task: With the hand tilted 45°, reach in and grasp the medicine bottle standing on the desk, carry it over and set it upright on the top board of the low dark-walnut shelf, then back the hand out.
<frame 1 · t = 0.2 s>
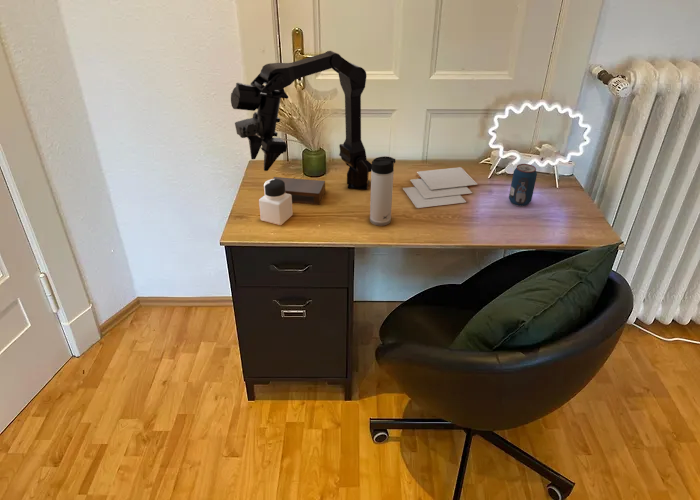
hand: (259, 164, 157), 15 cm above the table, tool pointing down, fingers open, 9 cm apart
soda can: (519, 202, 172), on the table
paper stack: (440, 187, 180), on the table
travel mug: (380, 221, 161), on the table
shelf: (296, 196, 174), on the table
medicine bottle: (276, 218, 163), on the table
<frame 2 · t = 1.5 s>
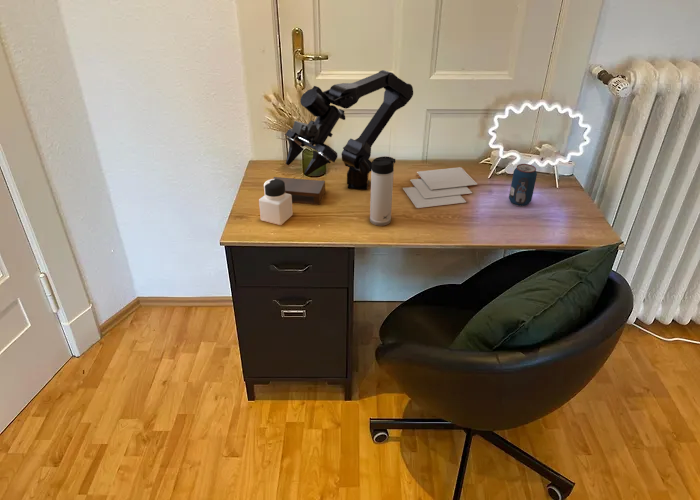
hand: (296, 169, 160), 13 cm above the table, tool tilted 45°, fingers open, 9 cm apart
nothing on the table moved.
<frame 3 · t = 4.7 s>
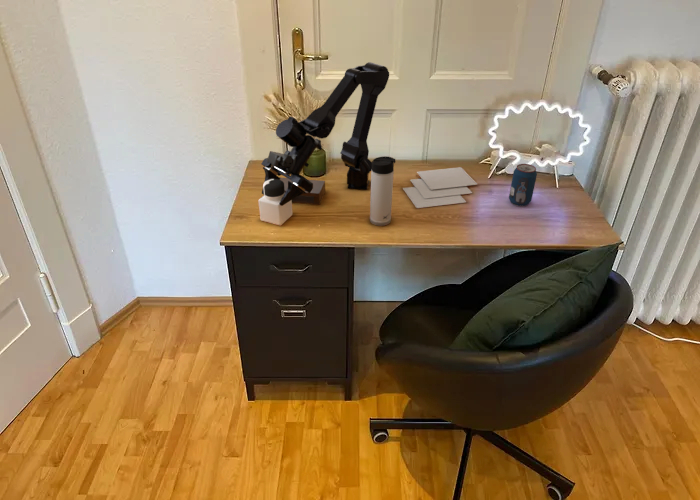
hand: (271, 199, 158), 7 cm above the table, tool tilted 45°, fingers closed on medicine bottle, 8 cm apart
medicine bottle: (276, 218, 162), on the table, touching gripper
everything else where it was.
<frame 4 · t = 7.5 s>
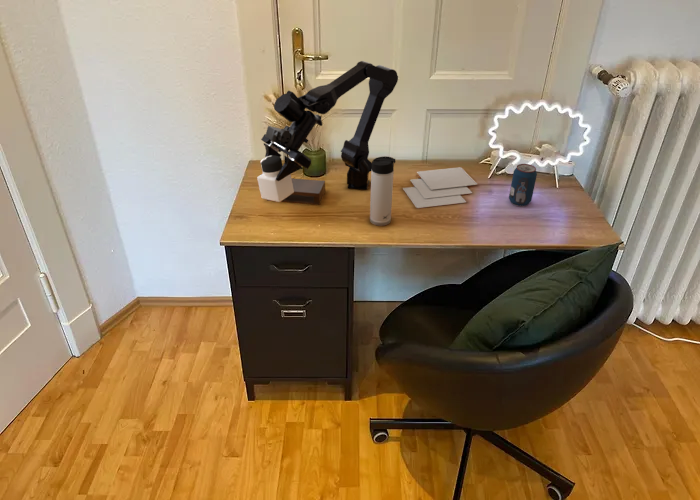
hand: (269, 175, 156), 13 cm above the table, tool tilted 45°, fingers closed on medicine bottle, 7 cm apart
medicine bottle: (278, 196, 161), point 6 cm above the table, touching gripper
everything else where it was.
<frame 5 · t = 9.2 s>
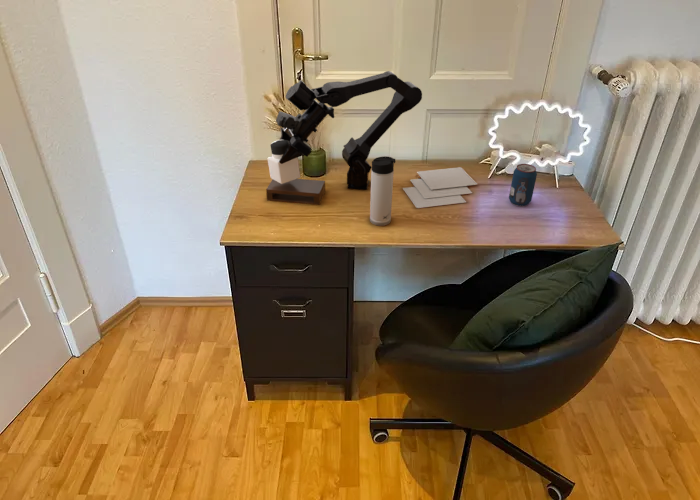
hand: (277, 157, 167), 13 cm above the table, tool tilted 45°, fingers closed on medicine bottle, 7 cm apart
medicine bottle: (285, 178, 171), point 6 cm above the table, touching gripper
everything else where it was.
when the fingers open (12 cm above the table, at t = 10.6 s): medicine bottle stays where it is, resting on shelf.
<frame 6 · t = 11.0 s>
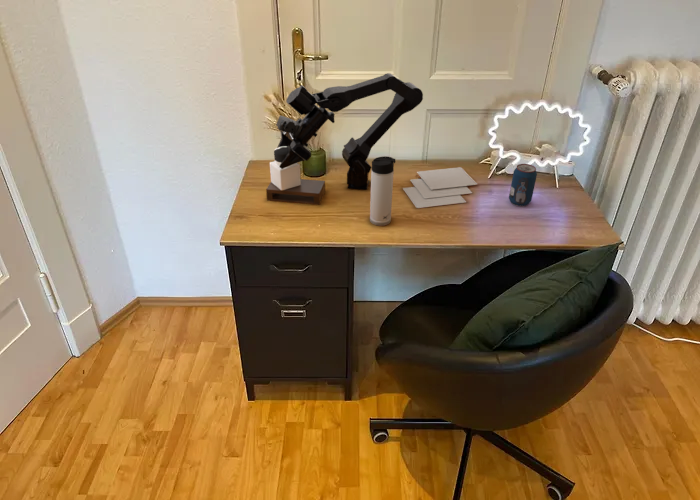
hand: (277, 161, 168), 12 cm above the table, tool tilted 45°, fingers open, 9 cm apart
medicine bottle: (286, 184, 172), point 4 cm above the table, touching shelf
everything else where it was.
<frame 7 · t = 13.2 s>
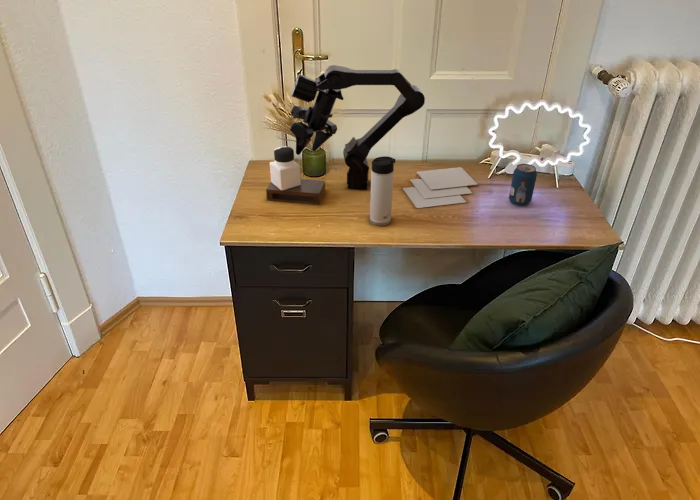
hand: (305, 152, 172), 12 cm above the table, tool tilted 20°, fingers open, 9 cm apart
nothing on the table moved.
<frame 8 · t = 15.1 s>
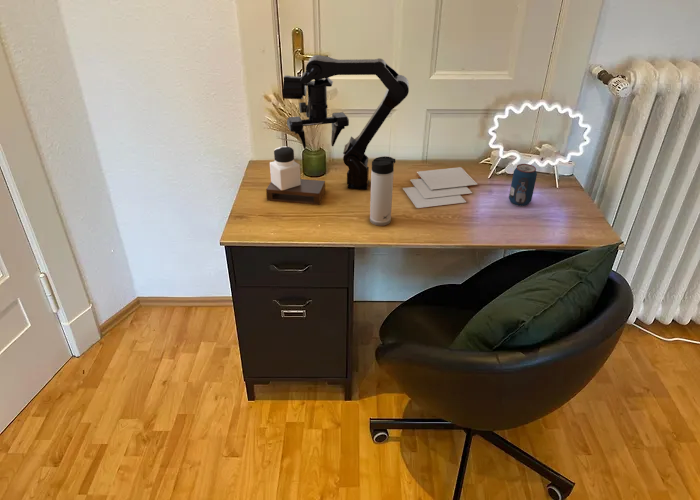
hand: (318, 147, 174), 13 cm above the table, tool pointing down, fingers open, 9 cm apart
nothing on the table moved.
at the end: medicine bottle inside the target area on the shelf (3.1 cm from its centre), point 3.8 cm above the shelf's base; medicine bottle tilted 0°; the gripper is holding nothing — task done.
